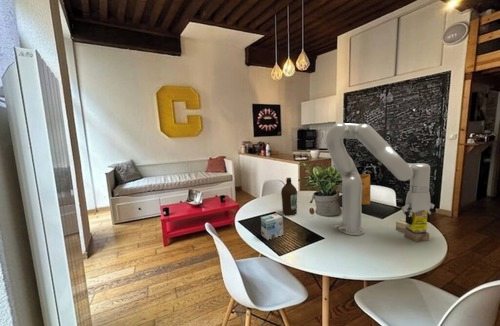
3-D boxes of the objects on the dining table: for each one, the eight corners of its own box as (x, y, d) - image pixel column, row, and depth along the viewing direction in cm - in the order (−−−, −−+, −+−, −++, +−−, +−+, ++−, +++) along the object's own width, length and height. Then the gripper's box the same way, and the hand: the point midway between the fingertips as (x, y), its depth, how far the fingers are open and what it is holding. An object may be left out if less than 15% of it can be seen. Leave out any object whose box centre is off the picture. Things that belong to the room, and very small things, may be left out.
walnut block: (416, 243, 108) (417, 235, 107) (404, 236, 114) (404, 229, 114) (428, 240, 109) (429, 233, 108) (415, 234, 116) (416, 227, 115)
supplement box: (414, 234, 108) (415, 212, 107) (406, 228, 114) (407, 208, 113) (426, 233, 108) (428, 211, 106) (418, 227, 114) (419, 207, 112)
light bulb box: (267, 240, 118) (266, 221, 116) (261, 235, 124) (260, 217, 122) (284, 235, 123) (283, 216, 121) (277, 230, 128) (276, 212, 127)
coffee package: (350, 200, 173) (351, 172, 170) (368, 201, 169) (369, 172, 166) (352, 204, 164) (352, 175, 161) (371, 205, 160) (372, 175, 157)
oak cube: (405, 233, 117) (405, 224, 117) (395, 229, 122) (396, 221, 121) (411, 231, 119) (411, 222, 119) (401, 227, 124) (402, 219, 123)
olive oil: (278, 213, 154) (277, 178, 150) (288, 209, 161) (287, 175, 157) (291, 217, 146) (290, 180, 143) (300, 212, 153) (299, 177, 150)
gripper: (427, 185, 113) (425, 217, 115) (397, 188, 110) (395, 221, 113) (442, 189, 106) (439, 223, 108) (410, 192, 103) (408, 227, 106)
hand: (417, 222), depth 110 cm, fingers open, 9 cm apart
